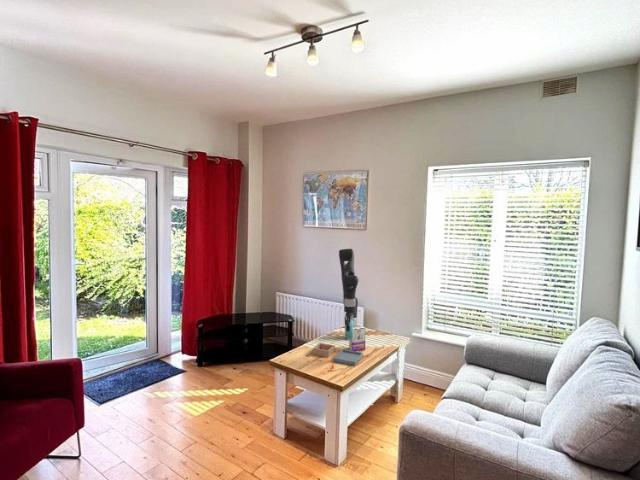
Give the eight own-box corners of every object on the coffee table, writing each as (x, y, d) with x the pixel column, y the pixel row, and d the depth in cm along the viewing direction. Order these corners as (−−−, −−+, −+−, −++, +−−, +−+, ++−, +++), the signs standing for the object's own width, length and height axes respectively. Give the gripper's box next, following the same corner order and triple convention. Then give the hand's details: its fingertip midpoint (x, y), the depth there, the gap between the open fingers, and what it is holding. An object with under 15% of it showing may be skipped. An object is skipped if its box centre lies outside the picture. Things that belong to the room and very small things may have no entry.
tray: (342, 352, 243) (342, 349, 243) (362, 356, 237) (363, 352, 237) (333, 361, 226) (333, 358, 226) (354, 365, 220) (355, 362, 220)
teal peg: (346, 335, 234) (347, 318, 234) (353, 337, 232) (354, 319, 232) (344, 338, 230) (344, 320, 229) (351, 339, 228) (351, 321, 227)
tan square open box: (319, 348, 249) (319, 342, 249) (334, 351, 244) (335, 345, 244) (312, 354, 238) (312, 348, 238) (328, 357, 233) (328, 351, 233)
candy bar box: (362, 347, 253) (362, 325, 252) (365, 349, 249) (366, 327, 248) (348, 349, 249) (349, 327, 248) (351, 351, 244) (352, 329, 244)
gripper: (348, 302, 238) (347, 326, 239) (340, 306, 225) (340, 331, 225) (358, 303, 235) (357, 327, 236) (351, 307, 222) (351, 333, 222)
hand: (349, 329), depth 231 cm, fingers closed on teal peg, 5 cm apart
